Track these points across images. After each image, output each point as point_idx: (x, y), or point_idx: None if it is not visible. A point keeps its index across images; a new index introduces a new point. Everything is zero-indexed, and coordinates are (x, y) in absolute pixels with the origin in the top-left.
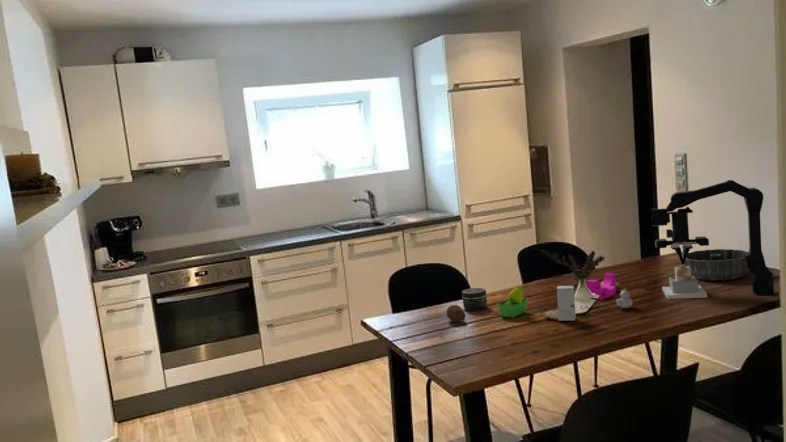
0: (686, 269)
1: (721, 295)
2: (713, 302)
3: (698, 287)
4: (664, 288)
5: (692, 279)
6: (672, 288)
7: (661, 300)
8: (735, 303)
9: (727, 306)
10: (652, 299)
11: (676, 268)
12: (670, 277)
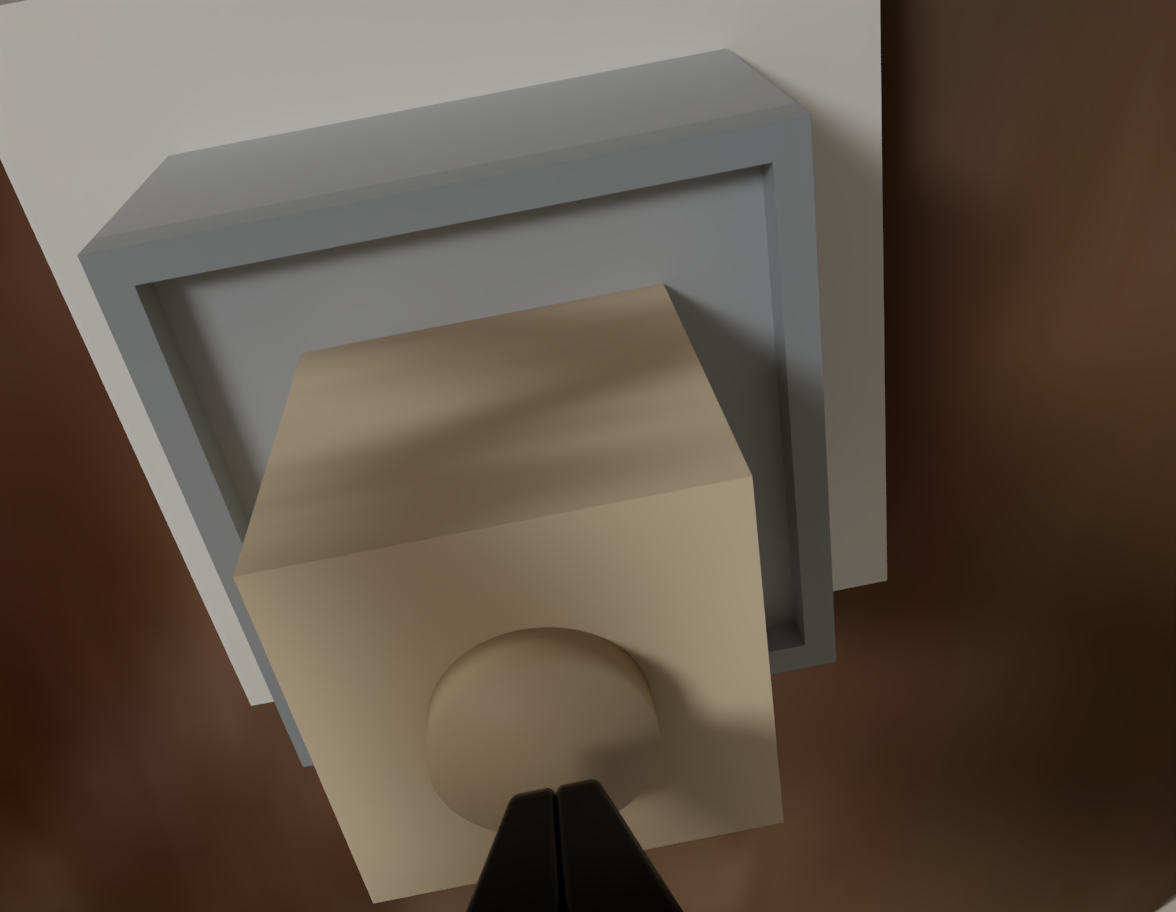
0: (659, 827)
1: (1104, 399)
2: (896, 753)
3: (813, 98)
4: (54, 208)
5: (739, 393)
6: None
7: (190, 731)
8: (1133, 766)
9: (1007, 874)
10: (28, 695)
11: (352, 814)
12: (148, 350)
